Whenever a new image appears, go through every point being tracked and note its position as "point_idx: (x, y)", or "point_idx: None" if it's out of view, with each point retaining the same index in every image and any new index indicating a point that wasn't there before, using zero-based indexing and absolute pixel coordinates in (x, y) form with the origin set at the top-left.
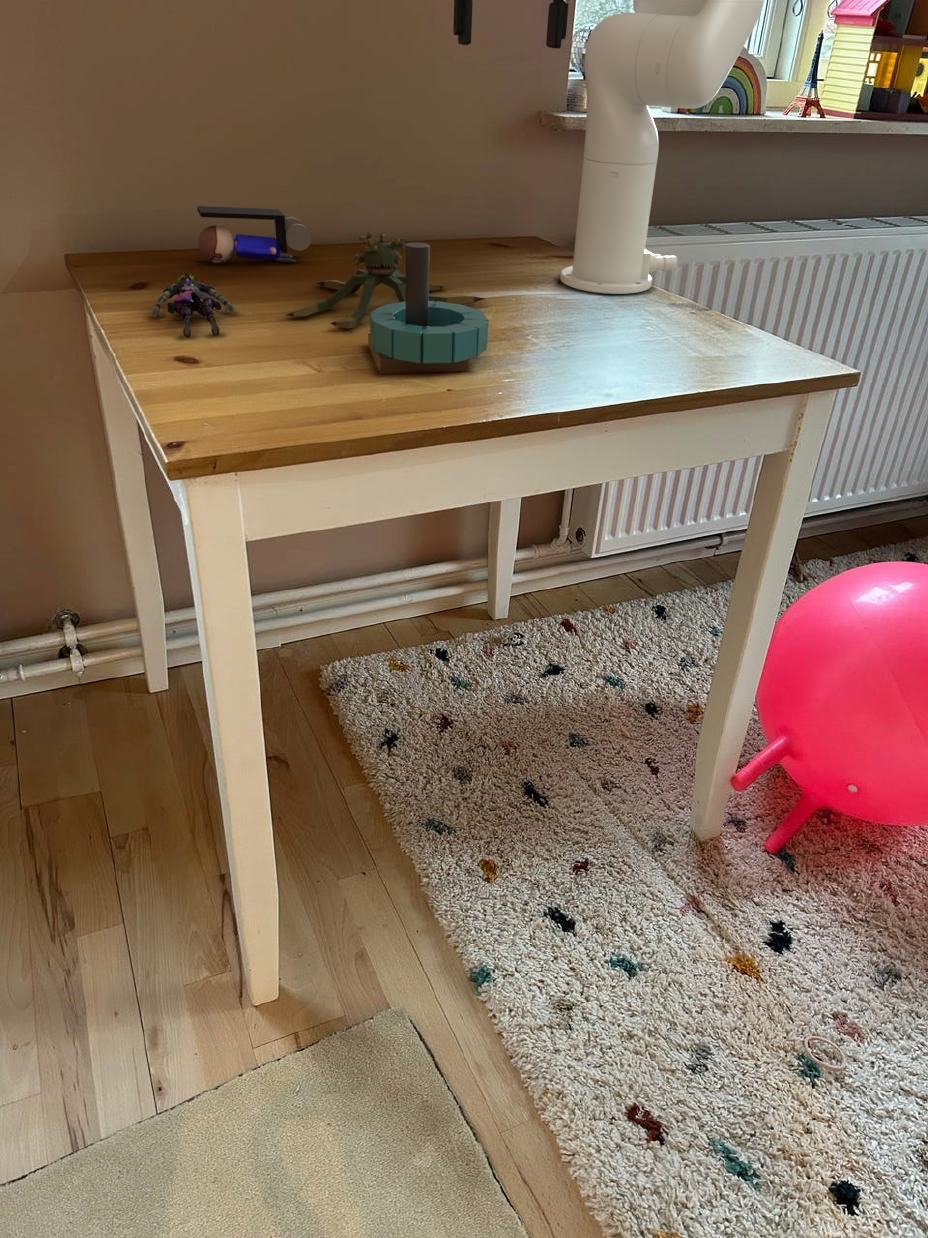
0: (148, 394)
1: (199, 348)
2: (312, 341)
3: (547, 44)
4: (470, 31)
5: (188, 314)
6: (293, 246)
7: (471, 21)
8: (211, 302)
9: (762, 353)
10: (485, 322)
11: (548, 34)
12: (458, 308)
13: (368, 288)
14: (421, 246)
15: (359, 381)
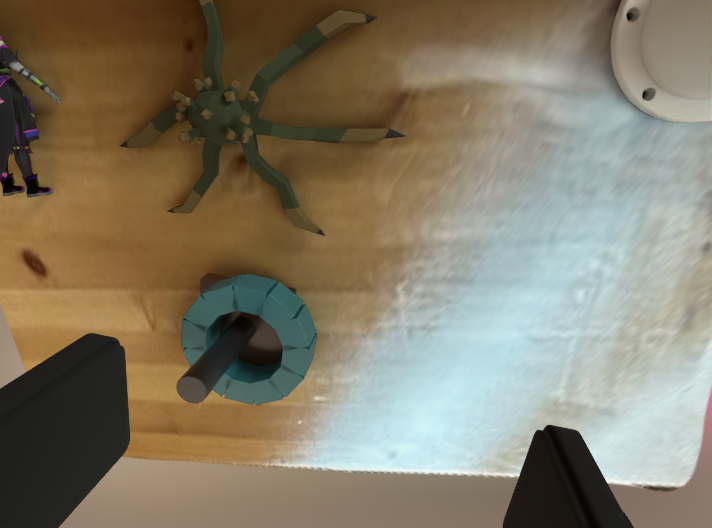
0: (18, 339)
1: (40, 230)
2: (152, 236)
3: (532, 447)
4: (95, 479)
5: (4, 179)
6: None
7: (66, 517)
8: (20, 134)
9: (646, 413)
10: (298, 383)
11: (543, 489)
12: (285, 329)
13: (209, 160)
14: (194, 398)
15: (185, 361)
